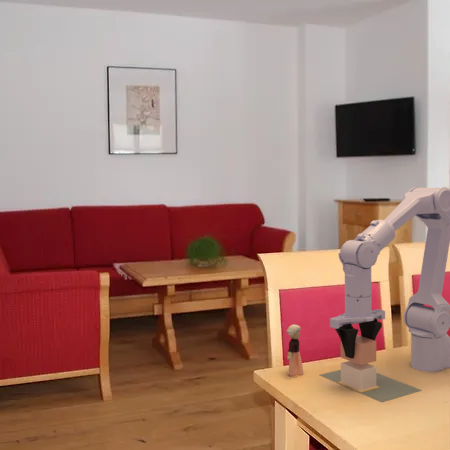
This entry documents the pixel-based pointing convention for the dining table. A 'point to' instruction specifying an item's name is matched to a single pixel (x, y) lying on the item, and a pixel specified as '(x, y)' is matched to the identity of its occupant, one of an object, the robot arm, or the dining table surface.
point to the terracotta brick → (362, 351)
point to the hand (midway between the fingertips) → (358, 355)
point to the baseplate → (378, 387)
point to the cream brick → (358, 375)
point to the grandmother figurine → (294, 351)
